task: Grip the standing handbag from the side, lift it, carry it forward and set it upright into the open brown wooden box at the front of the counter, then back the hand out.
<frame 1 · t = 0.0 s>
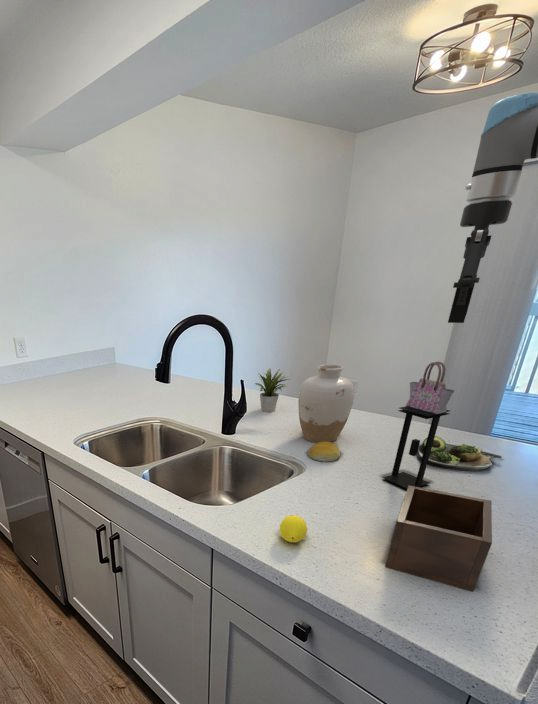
hand: (457, 319, 94), 39 cm above the worktop, tool pointing down, fingers open, 13 cm apart
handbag: (405, 483, 110), on the worktop
bread roll: (323, 457, 128), on the worktop
open brown wooden box: (431, 555, 83), on the worktop
lemon: (291, 540, 91), on the worktop
house plant: (267, 411, 169), on the worktop
vase: (319, 438, 141), on the worktop
salad plate: (448, 459, 122), on the worktop
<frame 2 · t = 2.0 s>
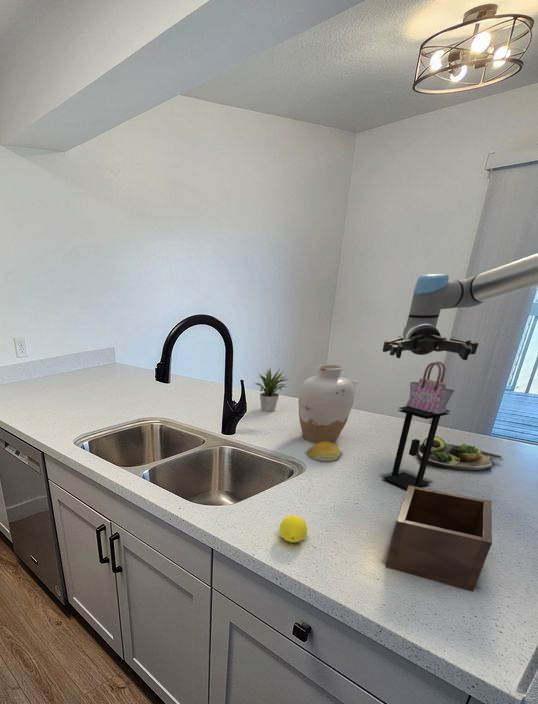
hand: (432, 353, 104), 30 cm above the worktop, tool horizontal, fingers open, 13 cm apart
nothing on the worktop moved.
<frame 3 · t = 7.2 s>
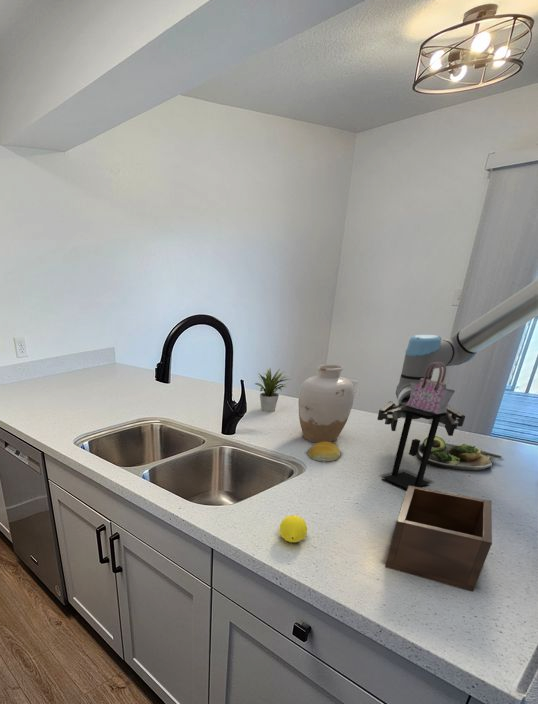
hand: (422, 427, 100), 16 cm above the worktop, tool horizontal, fingers closed on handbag, 11 cm apart
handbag: (405, 483, 110), on the worktop, touching gripper
everything else where it was.
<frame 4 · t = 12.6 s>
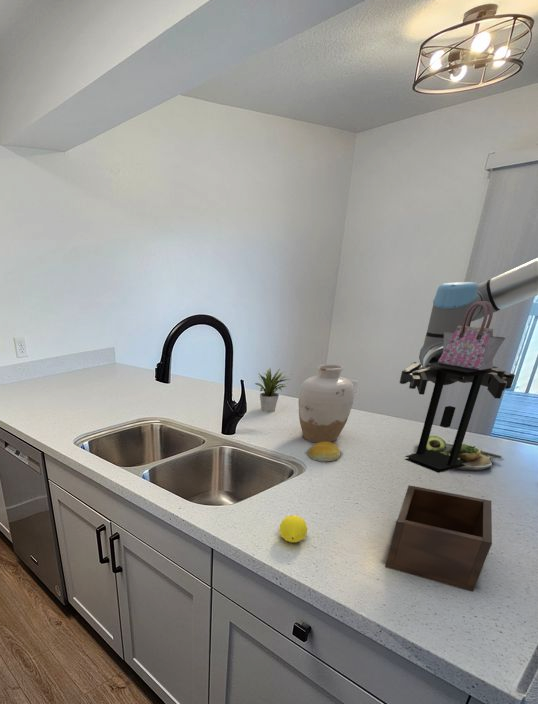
hand: (460, 388, 77), 30 cm above the worktop, tool horizontal, fingers closed on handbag, 11 cm apart
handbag: (434, 463, 88), point 14 cm above the worktop, touching gripper
everything else where it was.
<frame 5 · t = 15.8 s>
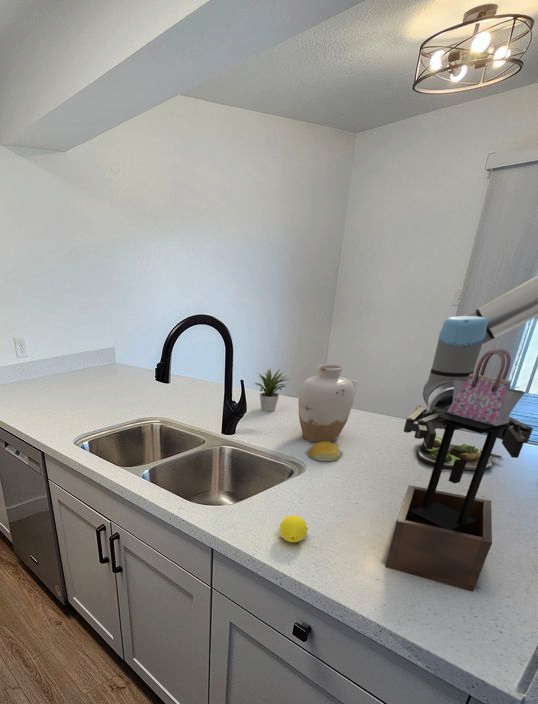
hand: (473, 445, 69), 24 cm above the worktop, tool horizontal, fingers closed on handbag, 11 cm apart
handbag: (441, 520, 80), point 8 cm above the worktop, touching gripper
everything else where it was.
when the fingers open (17 cm above the worktop, at t = 18.4 s): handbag stays where it is, resting on open brown wooden box.
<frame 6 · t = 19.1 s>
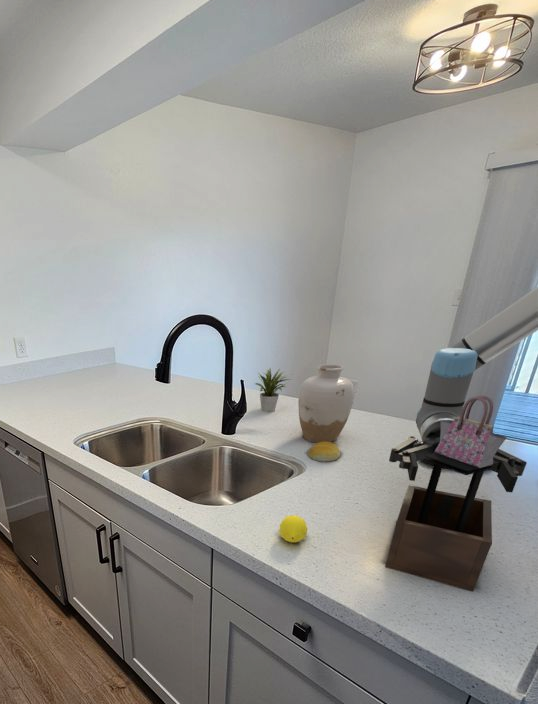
hand: (461, 479, 73), 18 cm above the worktop, tool horizontal, fingers open, 13 cm apart
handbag: (431, 552, 83), point 1 cm above the worktop, touching open brown wooden box
everything else where it was.
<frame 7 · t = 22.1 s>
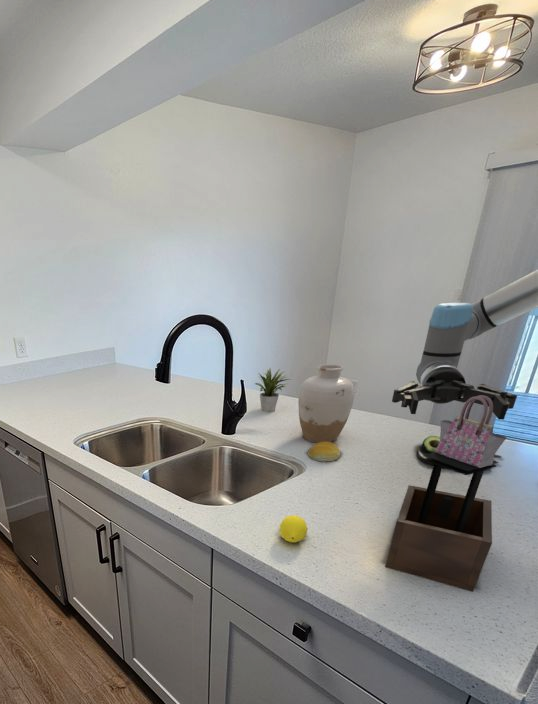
hand: (457, 409, 80), 26 cm above the worktop, tool horizontal, fingers open, 13 cm apart
nothing on the worktop moved.
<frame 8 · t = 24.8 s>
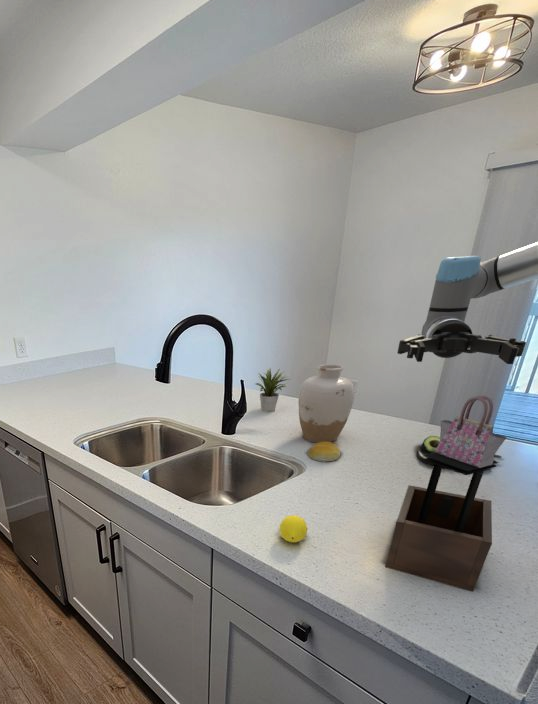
hand: (465, 355, 78), 35 cm above the worktop, tool horizontal, fingers open, 13 cm apart
nothing on the worktop moved.
at the end: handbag inside the target area in the open brown wooden box (0.1 cm from its centre), point 0.8 cm above the open brown wooden box's base; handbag tilted 0°; the gripper is holding nothing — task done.
